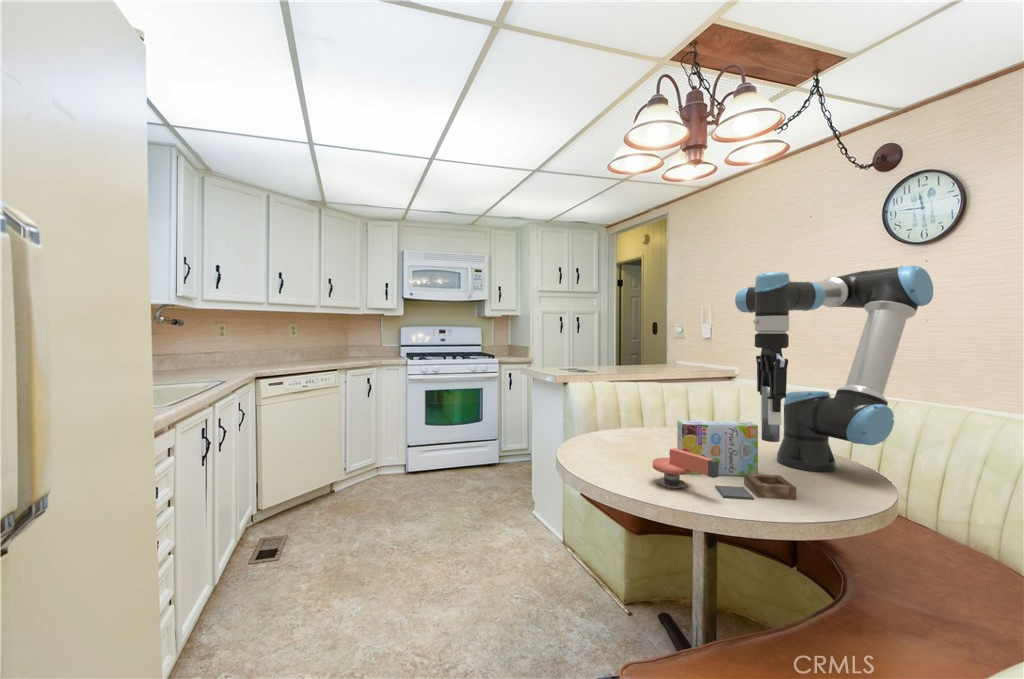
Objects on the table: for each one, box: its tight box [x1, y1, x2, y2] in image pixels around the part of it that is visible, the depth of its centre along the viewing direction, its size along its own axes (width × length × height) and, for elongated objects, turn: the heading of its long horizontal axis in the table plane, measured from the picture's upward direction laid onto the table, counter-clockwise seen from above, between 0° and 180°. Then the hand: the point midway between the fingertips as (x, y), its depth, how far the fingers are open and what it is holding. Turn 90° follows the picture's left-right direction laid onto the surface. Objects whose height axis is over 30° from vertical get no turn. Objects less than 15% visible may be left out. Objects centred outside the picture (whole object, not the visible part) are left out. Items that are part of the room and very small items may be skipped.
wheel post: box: [657, 473, 686, 490], centre depth 115 cm, size 7×7×4 cm
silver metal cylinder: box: [761, 386, 781, 443], centre depth 110 cm, size 4×4×14 cm
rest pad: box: [714, 485, 755, 501], centre depth 109 cm, size 7×7×1 cm
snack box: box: [676, 420, 759, 477], centre depth 125 cm, size 21×6×15 cm, turn 84°
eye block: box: [743, 473, 797, 501], centre depth 110 cm, size 9×9×3 cm
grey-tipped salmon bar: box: [652, 447, 720, 479], centre depth 112 cm, size 18×10×6 cm, turn 31°
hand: (770, 422), depth 110 cm, fingers closed on silver metal cylinder, 4 cm apart
